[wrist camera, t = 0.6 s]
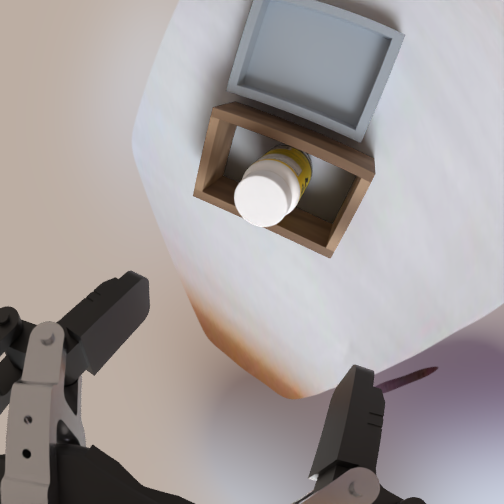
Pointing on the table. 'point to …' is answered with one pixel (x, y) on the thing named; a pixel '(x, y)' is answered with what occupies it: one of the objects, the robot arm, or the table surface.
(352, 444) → the robot arm
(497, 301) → the table surface
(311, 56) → the tray
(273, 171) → the supplement bottle
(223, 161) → the caddy
